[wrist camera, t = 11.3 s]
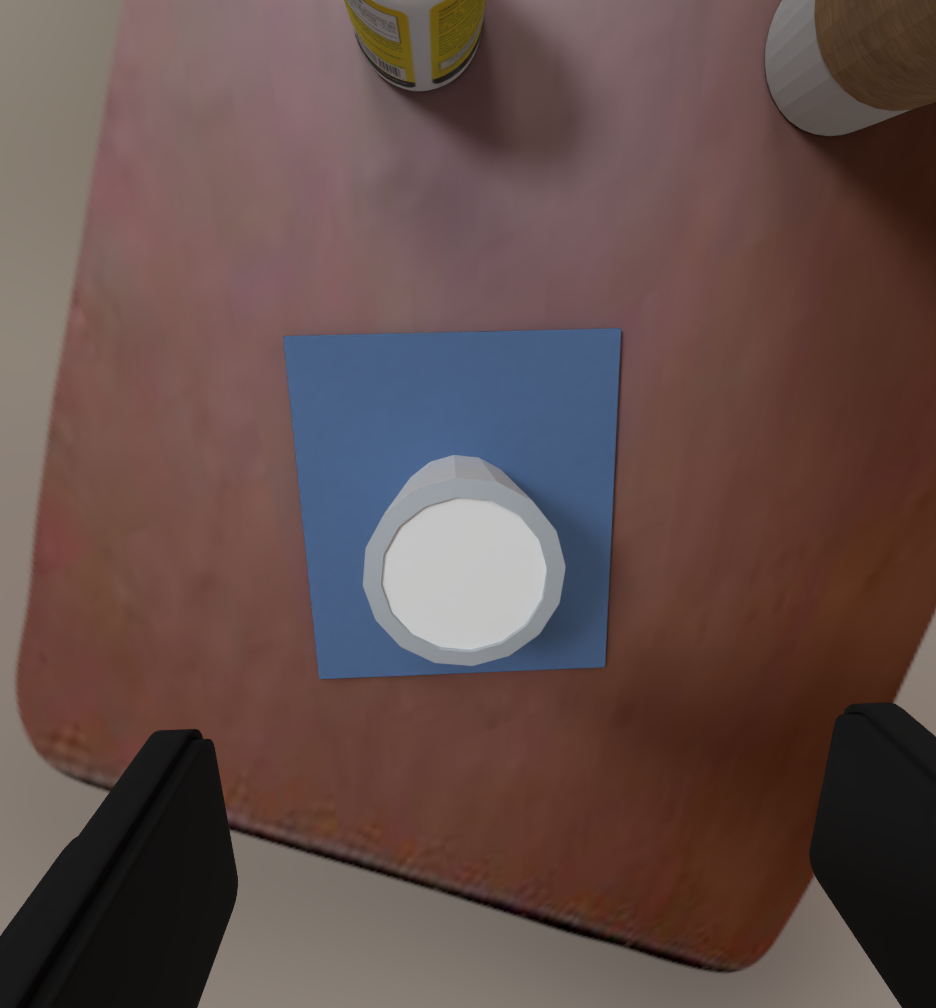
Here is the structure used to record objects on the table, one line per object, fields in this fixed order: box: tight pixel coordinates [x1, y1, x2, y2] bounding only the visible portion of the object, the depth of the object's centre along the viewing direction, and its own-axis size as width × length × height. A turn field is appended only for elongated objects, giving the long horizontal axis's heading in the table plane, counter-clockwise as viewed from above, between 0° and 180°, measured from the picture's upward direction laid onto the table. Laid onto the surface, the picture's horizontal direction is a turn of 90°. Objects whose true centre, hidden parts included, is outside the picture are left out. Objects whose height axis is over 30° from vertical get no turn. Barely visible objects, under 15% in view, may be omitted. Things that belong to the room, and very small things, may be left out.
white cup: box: [363, 455, 566, 666], centre depth 23 cm, size 7×7×7 cm
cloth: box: [283, 328, 621, 679], centre depth 26 cm, size 16×14×1 cm
